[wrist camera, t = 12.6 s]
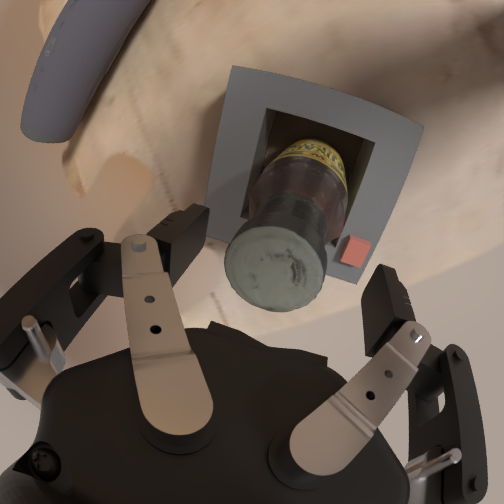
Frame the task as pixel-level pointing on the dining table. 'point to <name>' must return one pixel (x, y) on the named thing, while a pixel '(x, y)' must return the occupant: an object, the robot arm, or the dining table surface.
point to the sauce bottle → (289, 228)
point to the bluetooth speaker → (75, 65)
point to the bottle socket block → (326, 112)
